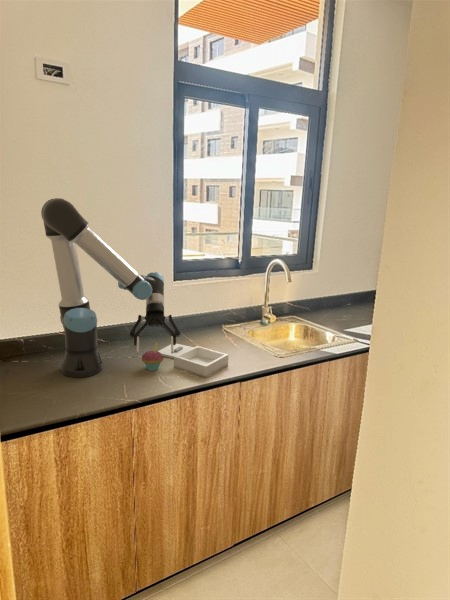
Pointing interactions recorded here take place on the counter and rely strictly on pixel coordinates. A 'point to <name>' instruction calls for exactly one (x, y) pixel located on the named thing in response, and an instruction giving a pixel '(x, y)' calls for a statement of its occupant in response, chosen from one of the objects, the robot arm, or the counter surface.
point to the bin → (201, 361)
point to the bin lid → (174, 350)
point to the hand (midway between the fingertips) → (155, 352)
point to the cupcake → (152, 359)
